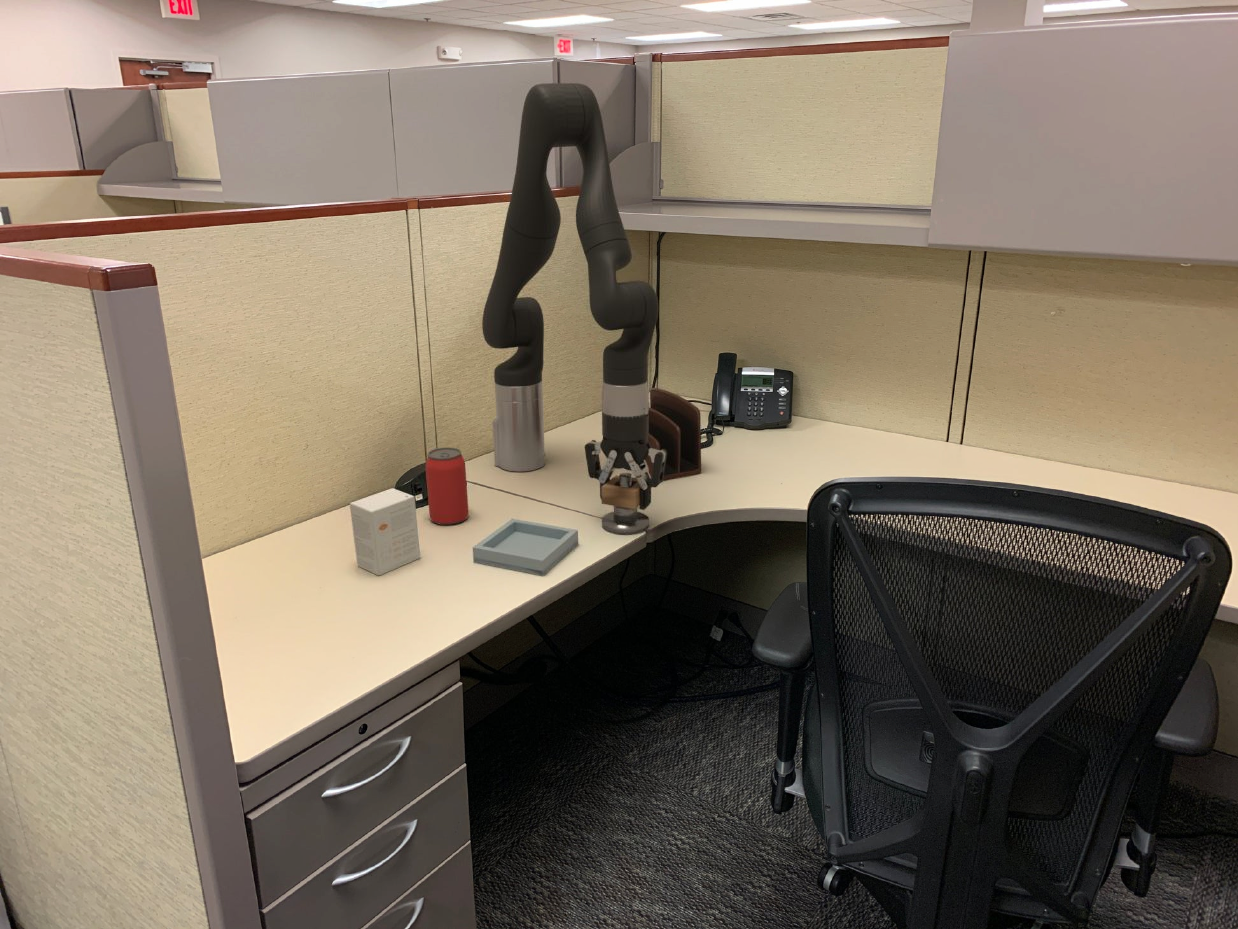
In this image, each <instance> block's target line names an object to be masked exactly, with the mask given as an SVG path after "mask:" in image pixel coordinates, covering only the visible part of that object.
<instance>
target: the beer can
mask: <svg viewBox="0 0 1238 929" xmlns="http://www.w3.org/2000/svg"><path fill="white" fill-rule="evenodd" d="M466 470H467V468H466V462H465V458H464V457H463V455H462V451H461V449H458V447H449V446H448V447H438V448H433V449H431V450H430V451H428V452H427V458H426V463H425V475H426V476H425V479H426V490H427V501H428V511H429V512H428V513H429V519H430V520H431V522H434V523H435V524H437V525H441V526H442V525H443V526H445V525H448V526H449V525H456V524H460V523H462V522H464V521H465V520H466V519H467V518H469V514H470V513H469V499H468V486H467V473H466V472H467V471H466Z"/></svg>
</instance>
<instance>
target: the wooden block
mask: <svg viewBox="0 0 1238 929" xmlns="http://www.w3.org/2000/svg"><path fill="white" fill-rule="evenodd" d="M640 489H641V486H640V484H639V482H638V480H637V478H635V477H632V476H631V488H628V487H621V486H619V474H617V475H614V476H613V477H612V478H610V480H609V481H608V482H607V483H606V484H604V485H603V486H602V487H601V493H602V500H601V504H602V505H606V506H612V507H614V506H618V507H624V508H631V509H636V508H637V509H638V508H639V505H640Z"/></svg>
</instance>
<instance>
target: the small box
mask: <svg viewBox="0 0 1238 929" xmlns="http://www.w3.org/2000/svg"><path fill="white" fill-rule="evenodd" d="M349 508H350V517H351V523H352V525H351V526H352V532H353V533H352V535H353V540H354V541H353V542H354V551H355V557H356V564H357V566H358V568H361V569H364V570H365V571H368V572H369V573H373V574H374V575H377V576H382V575H384V574H386V573H389V572H391V571H393V570H395V569H398V568H400V567H402V566H404V565H407V564H409V563H412V562H414V561H416V560H419V559H420V558H421V548H420V538H419V531H418V528H419V527H418V519H417V509H416V498H415V496H414V495H412V494H409V493H406V492H404V491H401V490H398V489H396V488H393V487H392V488H389V489H386V490H383V491H380V492H378V493H374V494H372V495H369V496H366V497H364V498H360V499H358V500H355V501H352V502H350V503H349Z"/></svg>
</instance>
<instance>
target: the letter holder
mask: <svg viewBox="0 0 1238 929" xmlns="http://www.w3.org/2000/svg"><path fill="white" fill-rule="evenodd" d="M701 416H702V415H701V410H700V409H699V408H698V406H696V405H695V404H693V403H692V402H690V401H689V400H687V399H685V398H684V397H682V396H681V395H678V394H676V393H674V392H671V391H668V390H666V389H663V388H662V389H661V388H657V387H651V388H650V391H649V435H648V442H649V445H650V447H651V448H653V449H656V450H662V449H665V450H666V451H667V457H666V464H665V470H664V476H663V481H668V480H669V481H670V480H675V479H680V478H687V477H691V476H697V475H700V474H702V431H701V429H702V428H701V421H702V420H701ZM645 461H646V463H647V466H648V468H649V470H648V471H649V474H650V476H651V478H652V472H653V465H654V463H652V461H651V457H650V456H649V455H648V456H647V457H646V459H645ZM663 481H662V482H663Z"/></svg>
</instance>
